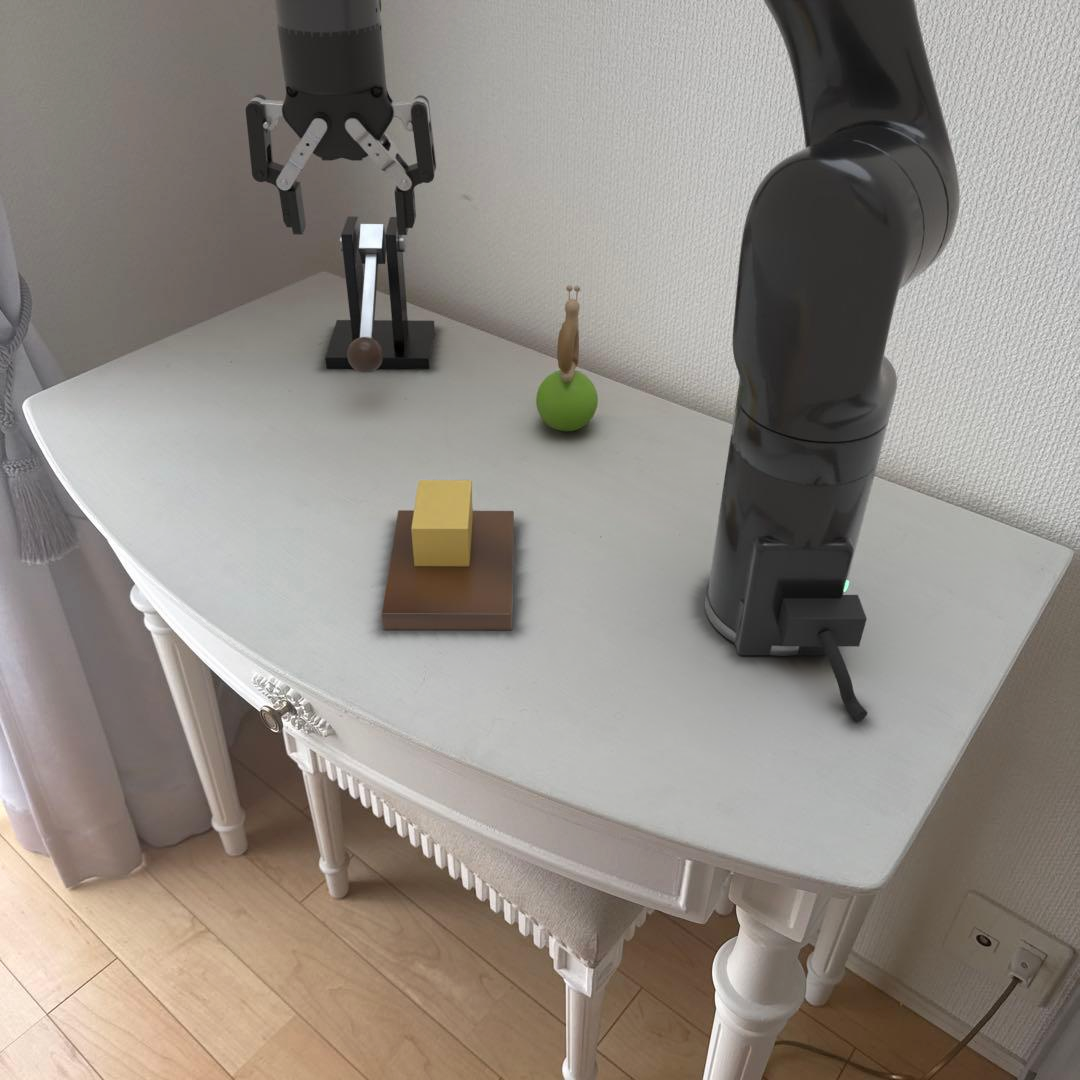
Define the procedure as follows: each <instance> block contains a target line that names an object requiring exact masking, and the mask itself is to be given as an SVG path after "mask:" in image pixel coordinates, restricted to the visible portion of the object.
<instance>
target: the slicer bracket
mask: <svg viewBox="0 0 1080 1080" xmlns="http://www.w3.org/2000/svg"><path fill="white" fill-rule="evenodd" d="M359 234H360V224H359V217H358V216H347V217H346V220H345V223H344V225H343V228H342V232H341V234H340V236H339V250H340V252H342V255H343V266H344V276H345V284H346V293H347V303H348V312H349V319H337V320H336V321H335V325H334V327H333V331H332V334H331V337H330V340H329V343H328V346H327V350H326V353H325V356H324V361H325V368H326V369H354V368H353V367H352V366H351V365H350V363H349V361H348V358H347V351H348V348H349V345H350V344H351V343H352V342H353V341H354V340H355V339H357V338H360V324H361V310H362V295H363V281H364V267H363V266H364V264H362V261H361V257H360V253H359V248H358V247H359ZM385 242H386V265H387V278H388V289H389V302H390V314H391V319H390V320H389V319H385V320H383V319H374V335H373V339H374V340H376V341H377V342H378V343H379V344H380V346H381V347H382V350H383V361H382V363H381V365H380V366H379V367H378V368H377V369H382V370H383V369H392V370H393V369H396V370H397V369H400V370H401V369H402V370H405V369H406V370H415V369H416V370H428V369H430V367H431V366H430V365H431V359H432V351H433V345H434V339H435V333H436V327H435V320H411V319H410V320H409V319H408V308H407V307H408V306H407V293H406V292H407V291H406V278H405V264H404V253H405V252H406V249H407V248H406V246H407V245H406V237H405V236H404V235H398V229H397V217H396V216H390V217H389V219H388V223H387V227H386V230H385Z"/></svg>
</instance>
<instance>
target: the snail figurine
mask: <svg viewBox="0 0 1080 1080" xmlns="http://www.w3.org/2000/svg"><path fill="white" fill-rule="evenodd" d="M566 291H567V292H568V300H566V302H565V305H564V311H565V317H564V321H563V323H562V324H561V327H560V330H559V332H558V338H557V348H556V349H557V350H556V359H557V365H558V368H559V370H556V371H553V372H551V373H550V374H548V375H547V376H545V378H544V379H543V381H541V383H540V384H539V387H538V389H537V392H536V399H535V403H536V408H537V412H538V414H539V416H540V418H541V419H542V420H543V422H544V423H545V424H546V425H547V426H549V427H551V428H552V429H554V430H557V431H561V432H573V431H577V430H580V429H581V428H584V427H585V426H586V425H587V424H588V423H590V421H591V420H592V419H593V417H594V416H595V414H596V412H597V408H598V403H599V397H598V392H597V389H596V387H595V384H594V383H593V381H592V380H591V379H590V378H589V377H588V376H587V375H586V374H585V373H583V372H581V371H578V370H576V369H577V366H578V364H579V359H580V358H579V357H580V331H579V329H580V328H579V325H580V324H579V314H580V313H579V312H580V307H581V306H580V303H579V301H578V292H580V291H581V286H580V285H575V286H574V287H573V285H571V284H568V285H567V286H566ZM572 291H575V292H576V296H575V298H571V292H572Z"/></svg>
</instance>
